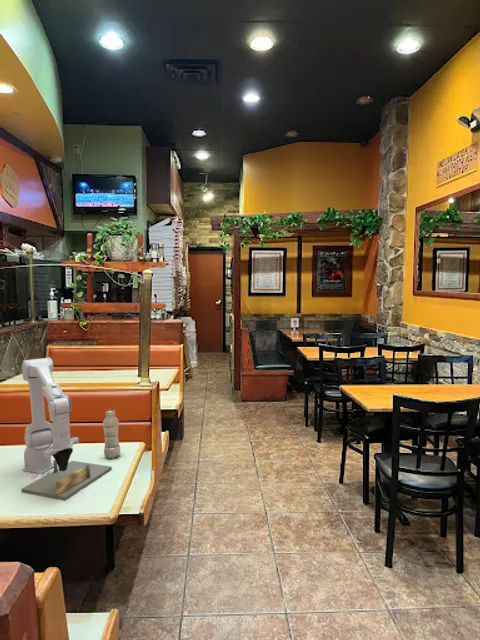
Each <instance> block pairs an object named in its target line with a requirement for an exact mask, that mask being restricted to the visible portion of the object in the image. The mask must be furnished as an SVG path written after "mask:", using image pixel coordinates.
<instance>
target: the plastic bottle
mask: <svg viewBox="0 0 480 640" xmlns="http://www.w3.org/2000/svg"><path fill="white" fill-rule="evenodd" d="M119 425H120V421H119V419H118V417H117V416H116V409H115V408H108V409H106V410H105V418H104V419H103V422H102V427H103V433H104V448H103V454H104V457H105V458H107V459H115V458H117V457H119V456H120V454H121V446H120V441H119Z"/></svg>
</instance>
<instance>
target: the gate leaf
mask: <svg viewBox="0 0 480 640" xmlns="http://www.w3.org/2000/svg"><path fill="white" fill-rule="evenodd" d="M86 478H87V470H86V467H84V468H82V469H80V470H78V471H76V472H74V473H72V474H70V475H68V476H66V477H64V478H63V479H61V480H59V481H57V482H56V494H60V493H61V492H63V491H65V490H67V489H68V488H70V487H72V486H74V485H76V484H77V483H79V482H81V481H83V480H85V479H86Z"/></svg>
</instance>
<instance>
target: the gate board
mask: <svg viewBox="0 0 480 640" xmlns="http://www.w3.org/2000/svg"><path fill="white" fill-rule="evenodd" d="M53 464H54V467H53V471H51V472H49V473H47V474H46V475H44V476H42V477H41V478H38V479H37V480H35V481H33V482H31V483H29V484H28V485H26V486H24V487H22V488H21V489H20V490H21V493H25V494H29V495H34V496H39V497H43V498H50V499H53V500H54V499H55V500H60V501H68V500H69V499H70V498H71V497H73V496H75V495H76V494H78V493H79V492H80V490H81V489H82V490H84V489H85V488H87V487H88V486H90V485H91V484H92V483H94V482H96V481H97V480H99V479H100V478H101V477H103V476H104V475H106V474H107V473H109V472H110V471H112V470H113V468H112V466H109V465H103V464H96V463H91V462H83V461H77V460H70V461H68V466H67V470H65V471H59V468H58V465H57V462H56V460H55V459H54V460H53ZM84 467H86V470H87V478H86V479H85V480H83V481H81V482H79V483H77V484H76V485H74V486H72V487H70V488H68V489H67V490H65V491H63V492H61V493H60V494H56V482H57V481H59V480H61V479H63V478H64V477H66V476H68V475H70V474H72V473H74V472H76V471H78V470H80V469H82V468H84ZM83 488H84V489H83ZM82 490H81V491H82ZM77 492H78V493H77ZM74 494H75V495H74Z"/></svg>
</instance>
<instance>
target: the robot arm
mask: <svg viewBox="0 0 480 640" xmlns="http://www.w3.org/2000/svg"><path fill="white" fill-rule="evenodd" d="M21 370H22V371H21V372H22V378H23V379H22V380H23V381H25V382H28V387H29V388H28V389H29V401H30V411H31V412H30V413H31V423H30V424H29V425H28V426H26V428H25V430H24V443H25V447H26V448H25V449H24V452H23V461H24V462H23V463H24V468H23V469H22V471H25V472H30V473H35V474H36V473H37V474H43V473H46V472H47V471H49V470H51V469H52V468H53V469H54V463H52V458H54V460H56V462H57V469H58V468H59V471H65V470H67V466H68V463H69V462H70V461H69V460H70V457H71V455H72V454H73V451H74V450H73V447H74V445H77V444H79V441H80V438H79V437H75V436H73V437H72V438H71V424H70V421H71V420H70V413H71V412H72V409H73V407H72V406H73V405H72V401H71V398H70V396H68V395H67V394H64V392H63V389H62V388H61V385H60V384H59V383H57V382H55V380H54V377H53V370H54V362H53V359H52V358H51V357H50V356H49V357H48V356H47V357H42V358H32V359H24V360H23V362H22V364H21ZM44 398H45V399H46V401H47V409H48V413H49V419H50V421H51V422H49V421H47V420H46V411H45V409H46V408H45V399H44Z"/></svg>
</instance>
